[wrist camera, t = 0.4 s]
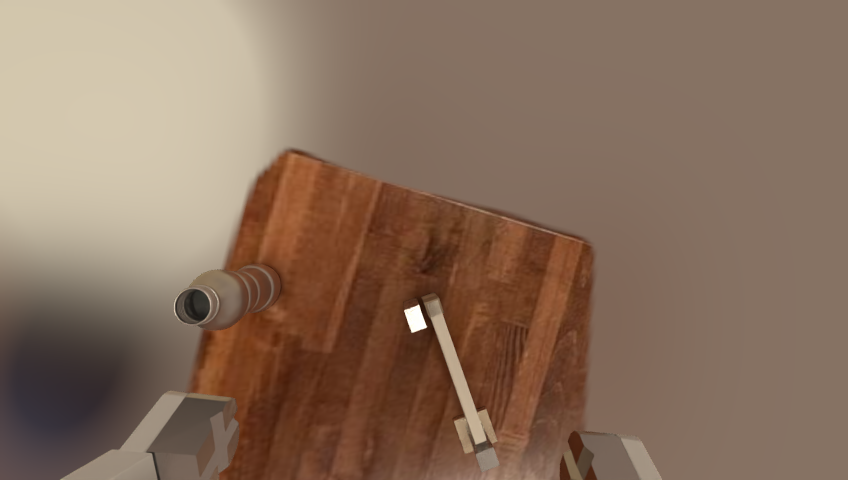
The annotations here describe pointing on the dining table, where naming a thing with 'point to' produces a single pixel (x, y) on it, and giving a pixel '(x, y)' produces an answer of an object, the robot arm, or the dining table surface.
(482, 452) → the hinge post
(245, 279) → the plastic bottle
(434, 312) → the gate
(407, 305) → the post
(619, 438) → the robot arm
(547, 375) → the dining table surface
